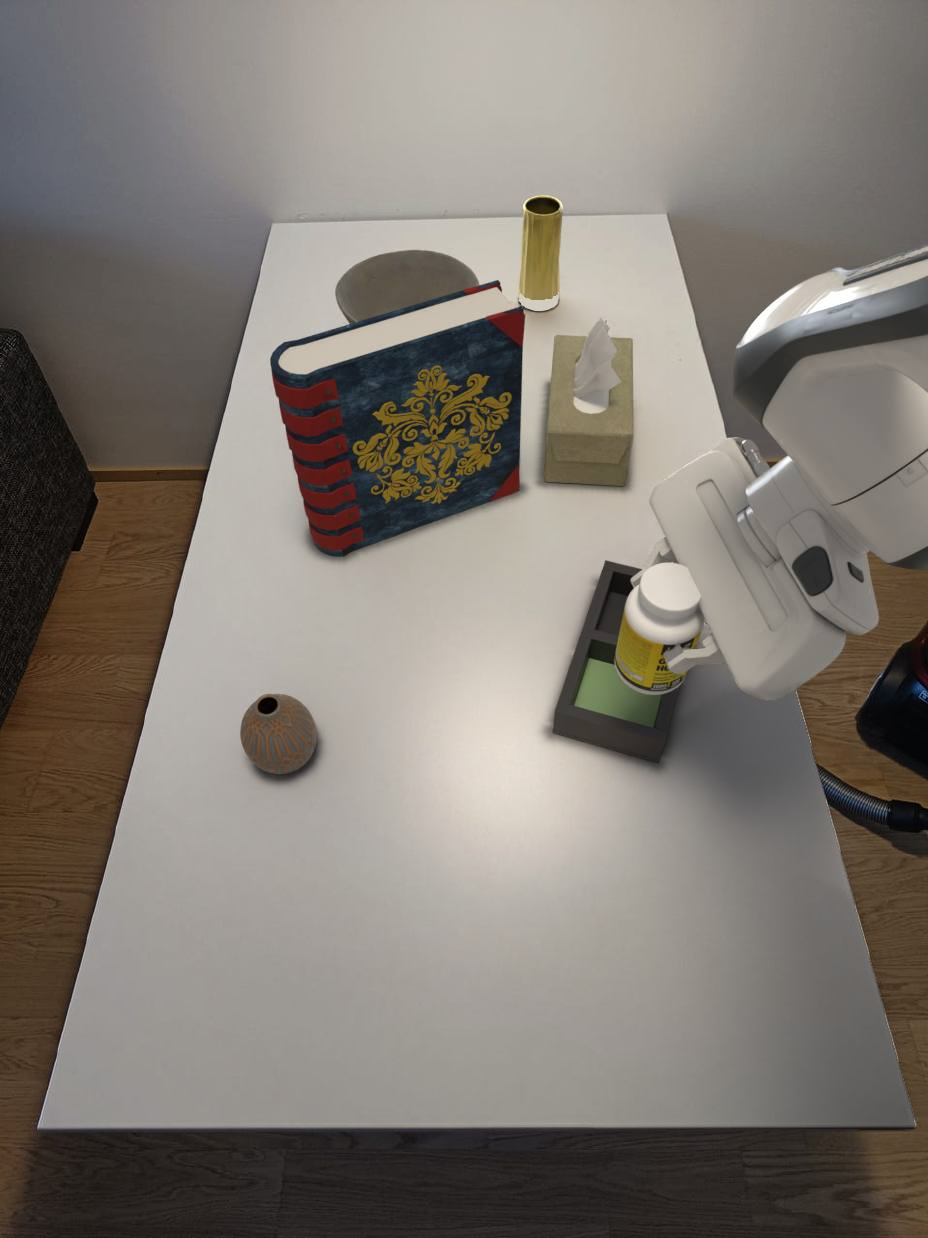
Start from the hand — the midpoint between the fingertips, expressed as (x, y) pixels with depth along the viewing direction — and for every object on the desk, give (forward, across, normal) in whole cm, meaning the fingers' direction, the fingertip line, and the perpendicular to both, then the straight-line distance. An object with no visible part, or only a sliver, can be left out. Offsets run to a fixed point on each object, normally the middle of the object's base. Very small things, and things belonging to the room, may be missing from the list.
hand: (653, 627), depth 70 cm
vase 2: (+6, -72, +22) cm, 76 cm away
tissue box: (+7, -43, +20) cm, 48 cm away
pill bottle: (+4, 0, +5) cm, 6 cm away
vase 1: (+36, -6, -9) cm, 38 cm away
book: (+24, -35, +4) cm, 43 cm away
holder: (+11, -8, +15) cm, 21 cm away
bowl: (+20, -65, +8) cm, 68 cm away
